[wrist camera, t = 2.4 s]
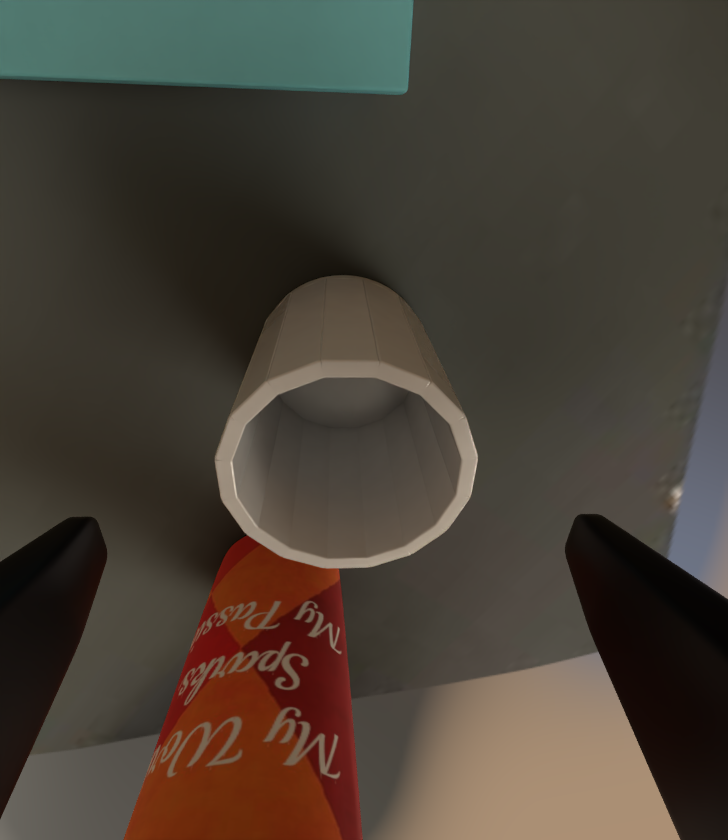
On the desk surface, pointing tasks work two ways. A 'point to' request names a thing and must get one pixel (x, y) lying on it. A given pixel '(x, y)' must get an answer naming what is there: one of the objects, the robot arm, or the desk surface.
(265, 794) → the paper cup
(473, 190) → the desk surface
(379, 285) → the beige cup
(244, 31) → the teal flat box
